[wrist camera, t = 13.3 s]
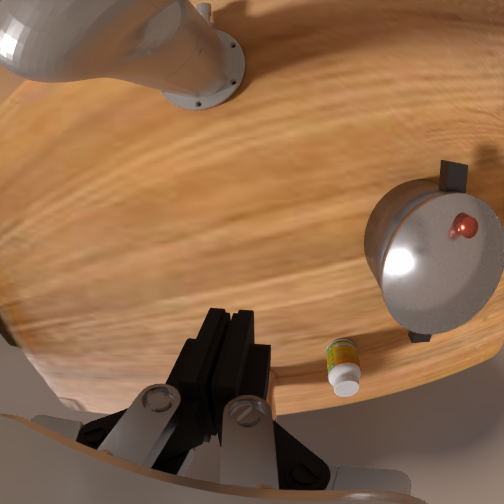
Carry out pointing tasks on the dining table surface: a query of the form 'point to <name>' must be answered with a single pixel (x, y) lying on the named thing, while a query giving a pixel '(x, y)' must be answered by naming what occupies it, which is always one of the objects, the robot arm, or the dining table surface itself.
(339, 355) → the supplement bottle
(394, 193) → the cooking pot
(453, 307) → the cooker lid
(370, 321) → the dining table surface
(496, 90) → the dining table surface
